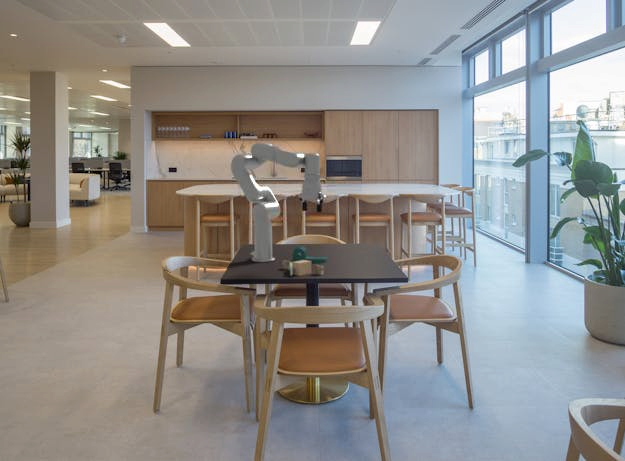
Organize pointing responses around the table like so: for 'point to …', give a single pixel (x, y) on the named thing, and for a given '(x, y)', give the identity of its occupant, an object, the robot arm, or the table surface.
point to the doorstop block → (301, 267)
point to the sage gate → (291, 269)
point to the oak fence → (318, 269)
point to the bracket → (304, 256)
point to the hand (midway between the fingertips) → (311, 211)
